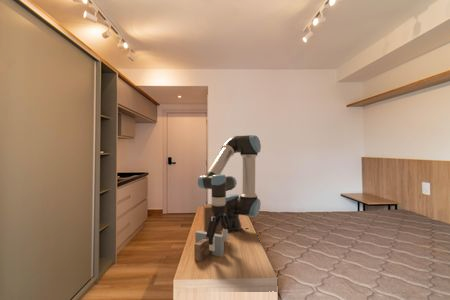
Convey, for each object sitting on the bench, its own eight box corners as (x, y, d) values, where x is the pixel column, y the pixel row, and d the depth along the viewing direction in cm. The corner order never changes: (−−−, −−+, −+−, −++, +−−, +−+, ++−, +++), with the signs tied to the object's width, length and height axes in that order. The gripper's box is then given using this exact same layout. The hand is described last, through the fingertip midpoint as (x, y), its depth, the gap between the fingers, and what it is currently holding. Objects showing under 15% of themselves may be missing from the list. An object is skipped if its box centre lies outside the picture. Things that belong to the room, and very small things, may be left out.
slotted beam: (217, 244, 132) (217, 230, 132) (221, 245, 131) (221, 231, 131) (194, 260, 113) (194, 244, 113) (199, 261, 112) (199, 245, 112)
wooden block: (221, 240, 139) (221, 207, 140) (204, 241, 138) (204, 207, 138) (218, 234, 149) (218, 203, 149) (203, 235, 148) (203, 204, 148)
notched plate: (198, 248, 127) (198, 230, 127) (223, 254, 119) (223, 235, 120) (195, 250, 124) (195, 232, 125) (221, 256, 117) (221, 237, 117)
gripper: (224, 199, 132) (224, 236, 132) (198, 208, 110) (198, 253, 110) (235, 200, 129) (235, 238, 128) (212, 210, 107) (212, 256, 106)
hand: (218, 245), depth 119 cm, fingers open, 13 cm apart
